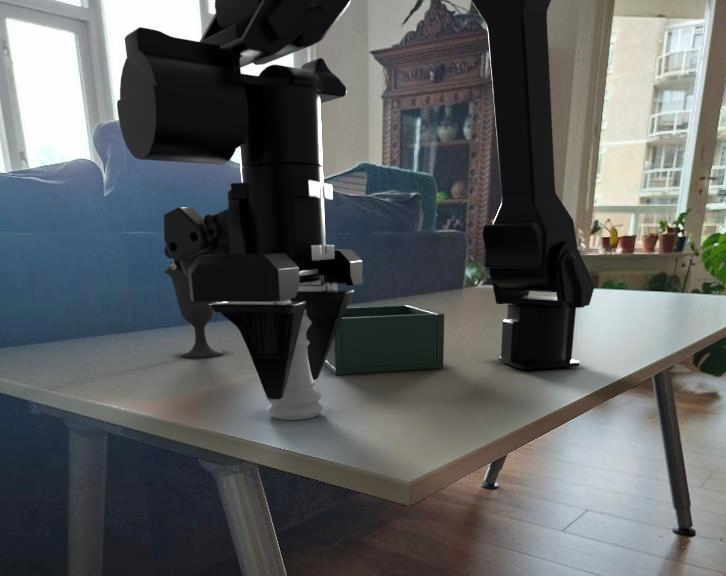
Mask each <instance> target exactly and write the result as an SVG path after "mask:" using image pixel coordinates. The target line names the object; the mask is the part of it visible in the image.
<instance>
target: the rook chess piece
mask: <svg viewBox="0 0 726 576" xmlns="http://www.w3.org/2000/svg"><path fill="white" fill-rule="evenodd" d="M311 323H312V322H311V320H310V319H309V318H308V317H307V313H306V309H304V313H303V317H302V322H301V326H300V330H299V334H298V338H297V342H296V347H295V351H294V355H293V359H292V364H291V368H290V372H289V376H288V380H287V384H286V387H285V391H284V394H283V397H282V398H281V399H279V400H277V399H268V398H267V397H266V400H267V401H268V402H269V403H270V405H268V407H267V408H266V411H267V413H268V414H269V415H270V417H272V418H273V419H277V420H284V421H299V420H307V419H312V418H316V417H317V416H319V415H320V414H321V412H322V410H323V409H324V405H323V404H322V403H320V402H319V401H320V400H321V399H322V396H323V395H322V391H321V389H320V388H318V386H316V383H317V382H316V380H313V378H312V374H311V371H310V365H309V360H308V349H307V346H308V345H309V343H310V342H309V341H308V340H307V336H306V332H307V330H308V328H309V327H310V325H311Z"/></svg>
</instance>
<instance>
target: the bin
mask: <svg viewBox="0 0 726 576" xmlns="http://www.w3.org/2000/svg"><path fill="white" fill-rule="evenodd" d="M444 349H445V313H442V312H439V311H434V310H432V309H427V308H424V307H420V306H416V305H413V304H399V305H377V306H376V305H375V306H374V305H372V306H351V307H350V306H349V307H348V306H347V307H346V310H345V312H344V315H343V317H342V319H341V322H340V324H339V326H338V329H337V331H336V334H335V336H334V338H333V341H332V344H331V346H330V349H329V351H328V354H327V357H326V359H325V362H324V364H323V365H325V366H326V368H328V369H329V371H331V372H332V373H333V374H334V375H335V376H340V375H355V374H356V375H357V374H358V375H359V374H373V373H388V372H390V373H391V372H406V371H421V370H436V369H437V370H438V369H444V355H445V354H444V352H445V351H444Z"/></svg>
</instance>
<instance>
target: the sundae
mask: <svg viewBox="0 0 726 576" xmlns="http://www.w3.org/2000/svg"><path fill="white" fill-rule="evenodd" d="M164 273H165V275H168V276H169V278H171V282H172V285H173V288H174V292H175V295H176V301H177V305H178V308H179V311H180V314H181V317H182V318H183V319H184V320H185V321H186V322H187V323H189V325H190V324H191V326H192V327H193V328H194V336H195V337H194V338H195V340H194V344H193V347H192V348H191V349H189V350H186V351H185V352H181V356H182V357H184V358H188V359H189V358H192V359H193V358H194V359H201V358H213V357H219V356H221V355H223V353H224V352H223V351H222V350H219V349H216V348H215V349H214V348H213V347H211V346H210V345H209V343H208V341H207V336H206V329H205V328H206V325H207V324H208V323H209V322H210V321H211V320H212V319H213V317H214V316H215V314H216V312H214V311H213V310H212V309H211V308H210V306H209V304H213V303H217V301H191V298H190V289H189V279H186V276H185V274H184V272H183V269H182V267H181V264H180V262H179V261H176V260H174V259H173V261H172V262H171V263H170V266H168V267H167V269H165V270H164Z"/></svg>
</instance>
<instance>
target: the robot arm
mask: <svg viewBox="0 0 726 576" xmlns="http://www.w3.org/2000/svg"><path fill="white" fill-rule="evenodd" d="M470 2H471V3H472V6H474V8H475V9H476V11H477V12H478V14H479V16H480V17H481V19H482V20H483V22H484V23H485V25H486V30H487V38H488V39H487V40H488V48H489V63H490V74H491V86H492V95H493V96H492V99H493V109H494V121H495V122H494V123H495V133H496V145H497V157H498V158H497V160H498V169H499V181H500V183H499V184H500V194H501V203H500V206H499V208H498V210H497V213H496V215H495V217H494V220H493V222H492V223H491V224H490V223H489V224H485V225H484V226H483V228H482V239H483V244H484V249H485V259H484V268H486V269H488V272H489V275H490V279H491V284H492V288H493V293H494V299H495V303H496V305H507V311H506V312H507V313H506V318H504V319H503V320H502V328H501V344H500V345H501V347H500V348H501V349H500V355H499V356H498V357H497V359H498V361H499V362H502V363H504V364H507V365H509V366H512V367H515V368H518V369H520V370H524V371H525V370H540V369H541V370H542V369H557V368H558V369H559V368H570V367H571V368H573V367H580V361H579V360H577V359H576V360H575V359H572V358H573V347H574V333H575V325H576V314H577V312H576V311H577V309H578V308H579V309H582V308H585V307H588V306H590V304H591V301H592V296H593V294H594V289H595V282H594V280H593V278H592V277H591V274H590V272H589V270H588V268H587V266H586V264H585V262H584V259H583V257H582V255H581V254H580V252H579V251H580V250H579V249H578V243H577V235H576V228H575V222H574V219H573V217H572V216H571V214H570V213H569V211H568V210H567V208H566V207H565V205H564V203H563V202H562V201H561V199H560V198H559V196H558V194H557V192H556V182H555V181H556V180H555V160H554V141H553V140H554V139H553V120H552V119H553V118H552V117H553V116H552V115H553V114H552V97H551V78H550V75H551V73H550V55H549V54H550V53H549V36H548V10H549V7H550V4H551V2H552V0H470ZM350 3H351V0H214V9H215V13H214V14H213V17H212V18H211V20H210V22H209V24H208V26H207V28H206V29H205V31H204V33H203V34H202V36H201V38H200V39H199V41H197V40H192V39H186V38H180V37H175V36H171V35H169V34H166V33H164V32H162V31H160V30H156V29H153V28H152V29H151V28H146V27H141V26H139V27H137V28H136V29H134V30H133V31H131V32H129V33H128V34H126V35H125V37H124V45H125V53H126V58H125V61H124V63H123V66H122V69H121V76H120V85H119V99H118V100H117V103H116V108H117V116H118V123H119V127H120V131H121V134H122V138H123V141H124V143H125V146H126V148H127V149H128V151H129V153H130V154H131V155H132V156H133V157H134V158H135V159H138V160H139V161H140V160H141V161H158V162H173V163H174V162H175V163H191V164H204V165H205V164H206V165H207V164H208V165H225V164H227V163H228V162H229V161H231V159H232V157H233V156H234V154H235V153H236V150H237V149H239V158H240V159H239V161H240V162H239V163H240V176H241V182H232V183H230V188H228V190H227V203H228V208H226V209H224V210H222V211H220V212H217V213H215V214H214V213H213V214H210V213H208V214H205V215H204V217H202V216H201V215H200V214H199V213H198V211H196V210H195V209H193V208H192V207H176V208H175V209H173V210H171V211H169V212H167V213H165V214H163V240H164V245H165V247H164V248H163V249H164V256H165V257H166V258H167V259H173V261H174V260H176V261H179V262H180V264H181V267H182V269H183V272H184V274H185V276H186V279H189V289H190V298H191V301H216V303H213V304H209V306H210V308H211V309H212V310H213V311H214V312H215V313H220V315H222V316H223V317H224V318H226V320H228V321H229V322H231V323H232V324H233V325H234V326H235V327H237V329H238V331H239V333H240V334H241V337H242V338H243V341H244V343H245V346H246V348H247V350H248V353H249V355H250V357H251V361H252V362H253V366H254V368H255V371H256V373H257V376H258V378H259V381H260V384H261V386H262V388H263V391H264V393H265V396H266V399H267V398H268V399H277V400H279V399H281V398H282V397H283V394H284V391H285V387H286V384H287V380H288V376H289V372H290V368H291V364H292V359H293V355H294V351H295V347H296V342H297V338H298V334H299V330H300V326H301V322H302V317H303V313H304V309H306V313H307V317H308V318H309V319H310V320H311V322H312V323H311V325H310V327H309V328H308V330H307V332H306V336H307V340H308V341H309V342H310V343H309V345H308V346H307V349H308V360H309V365H310V371H311V374H312V378H313V380H314V381H316V380H319V377H320V375H321V372H322V370H323V368H324V365H325V364H324V362H325V359H326V357H327V354H328V351H329V349H330V346H331V344H332V341H333V338H334V336H335V334H336V331H337V329H338V326H339V324H340V322H341V319H342V317H343V315H344V312H345V310H346V307H348V305H349V302H350V301H351V298H352V297H354V293H355V290H354V289H339V287H338V285H339V284H343V285H344V284H345V285H346V286H358V285H362V284H363V283H364V282H363V260H362V258H360V257H359V255H357V254H356V252H354V250H352V249H335V244H326V243H327V242H326V223H325V222H326V221H325V220H326V218H325V215H326V214H325V201H333V199H334V198H333V197H334V195H333V193H334V192H333V184H331V183H326V182H324V168H323V167H324V166H323V164H324V163H323V161H324V160H323V139H322V137H323V136H322V110H321V109H322V108H321V104H322V103H326V102H331V101H333V100H338V99H340V98H344V97H346V95H347V92H348V91H347V90H348V89H347V87H346V86H345V84H344V83H343V82H342V80H341V79H340V78H339V77H338V76H337V75H336V74H335V73H333V72H332V71H331V70H330V68H329V67H328V66H327V64H326V63H327V62H326V61H325V59H324V58H322V57H319V58H316V59H312V60H310V61H308V62H305V63H303V64H302V66H301V67H300V68H298V67H292V66H286V65H281V64H271V65H268V66H266V67H265V68H264V69H262V70H261V71H260V73H259V74H258V75H254V74H246V73H242V70H241V68H244V67H246V66H248V65H251V64H253V65H254V66H260V65H261V66H262V65H265V64H268V63H271V62H273V61H277V60H278V59H281V58H284V57H286V56H289V55H292V54H294V53H296V52H299V51H301V50H304V49H306V48H309V47H312V46H314V45H315V44H317V43H320V42H321V41H322V40H323V39H324V38H326V36H327V35H328V33H330V31H331V29H332V28H333V27H334V25H335V24H336V23H337V22H338V21H339V19H340V18H341V17H342V15H343V14H344V13H345V12H346V10H347V9H348V8H349V6H350ZM530 292H535V293H537V292H538V293H555V294H556V295H555V296H553V295H535V294H534V295H533V294H530Z"/></svg>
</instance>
